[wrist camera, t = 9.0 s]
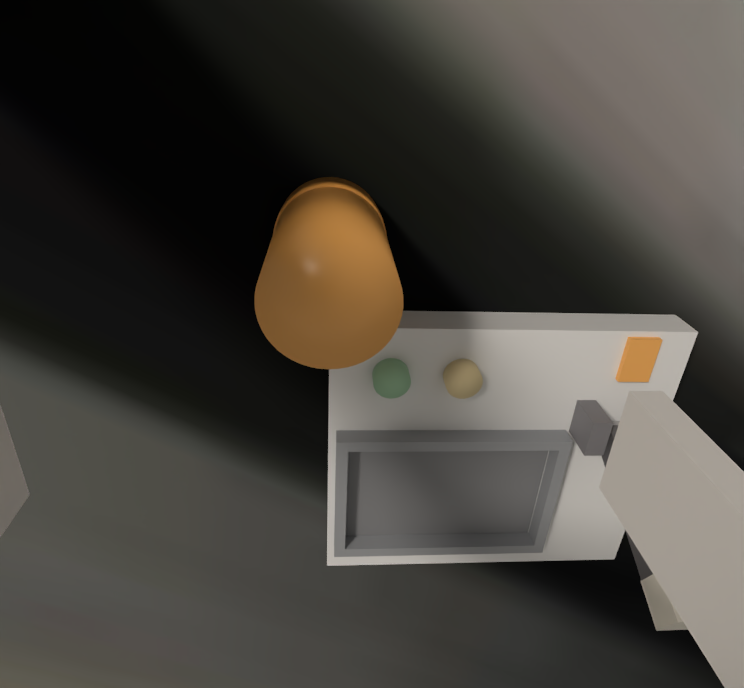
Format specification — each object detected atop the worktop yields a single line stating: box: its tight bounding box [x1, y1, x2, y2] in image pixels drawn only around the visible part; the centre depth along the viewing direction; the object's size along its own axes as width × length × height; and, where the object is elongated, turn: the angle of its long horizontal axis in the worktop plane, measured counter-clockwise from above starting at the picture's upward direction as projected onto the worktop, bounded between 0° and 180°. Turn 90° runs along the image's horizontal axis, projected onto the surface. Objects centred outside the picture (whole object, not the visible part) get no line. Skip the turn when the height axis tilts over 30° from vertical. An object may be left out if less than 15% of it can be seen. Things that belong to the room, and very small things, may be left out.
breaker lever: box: [602, 421, 688, 631], centre depth 25 cm, size 2×2×10 cm
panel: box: [327, 311, 698, 566], centre depth 30 cm, size 16×18×4 cm
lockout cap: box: [255, 177, 403, 369], centre depth 21 cm, size 5×5×8 cm
